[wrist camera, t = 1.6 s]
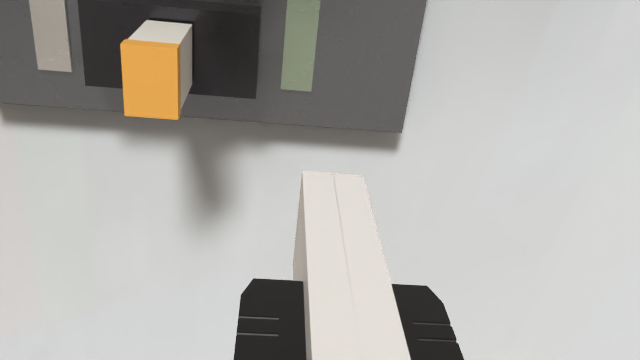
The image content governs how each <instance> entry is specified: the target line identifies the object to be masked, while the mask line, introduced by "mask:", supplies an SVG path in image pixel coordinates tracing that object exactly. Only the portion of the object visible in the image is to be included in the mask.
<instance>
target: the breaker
mask: <svg viewBox="0 0 640 360" xmlns="http://www.w3.org/2000/svg"><path fill="white" fill-rule="evenodd" d="M120 49H121V65H122V81H123V98H124V114H125V116H132V117H145V118H159V119H172V120H178V119H179V117H180V115H181V108H182V106H183V104H184V102H185V99H186V97H187V95H188V93H189V90H190V88H191V86H192V24H184V23H173V22H162V21H151V20H146V21H145V22H144V23H143V24H142V25H141V26H140V27H139V28H138V29H137V30H136V31H135V32H134V33H133V34H132V35H131V36H130V37H129V38H128V39H125V40H124V41H123V42H122V43H121V44H120Z"/></svg>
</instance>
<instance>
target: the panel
mask: <svg viewBox="0 0 640 360" xmlns="http://www.w3.org/2000/svg"><path fill="white" fill-rule="evenodd" d="M425 6H426V0H0V103H10V104H24V105H37V106H51V107H64V108H77V109H91V110H104V111H117V112H124V98H123V81H122V65H121V49H120V44H121V43H122V42H123V41H124V40H125V39H128V38H129V37H130V36H131V35H132V34H133V33H134V32H135V31H136V30H137V29H138V28H139V27H140V26H141V25H142V24H143V23H144V22H145V21H146V20H151V21H162V22H173V23H184V24H192V86H191V88H190V90H189V93H188V95H187V97H186V99H185V102H184V104H183V106H182V108H181V115H180V116H184V117H198V118H211V119H225V120H238V121H251V122H265V123H278V124H292V125H305V126H318V127H332V128H345V129H359V130H372V131H385V132H399V133H402V128H403V123H404V118H405V112H406V107H407V102H408V96H409V91H410V86H411V80H412V75H413V70H414V64H415V59H416V54H417V48H418V43H419V38H420V32H421V27H422V22H423V16H424V11H425Z"/></svg>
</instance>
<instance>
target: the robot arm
mask: <svg viewBox="0 0 640 360" xmlns="http://www.w3.org/2000/svg"><path fill="white" fill-rule="evenodd" d="M234 360H464V358H463V356H462V353H461V350H460V347H459V345H458V343H456V337H455V334H454V331H453V329H452V327H450V320H449V318H448V315H447V312H446V310H445V307H444V304H443V303H442V301H441V300H440V299H439V298H438V297H437V296H436V295H435V294H434V293H433V292H432V291H431V290H430V289H429V287H428V286H419V285H400V284H391V281H390V277H389V273H388V269H387V266H386V262H385V258H384V254H383V250H382V246H381V242H380V238H379V235H378V231H377V227H376V223H375V219H374V215H373V211H372V208H371V204H370V200H369V196H368V192H367V188H366V184H365V180H364V177H363V175H356V174H342V173H328V172H314V171H302V179H301V189H300V199H299V209H298V218H297V228H296V238H295V248H294V258H293V281H291V280H272V279H253V280H252V281H251V282H250V284H249V285H248V286H247V288H246V289H245V290H244V292H243V293H242V294H241V300H240V309H239V319H238V326H237V336H236V344H235V353H234Z"/></svg>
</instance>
